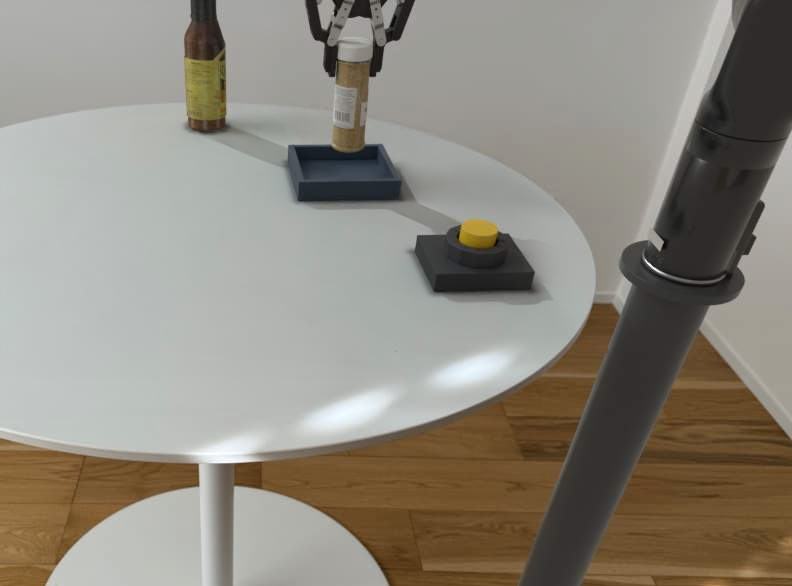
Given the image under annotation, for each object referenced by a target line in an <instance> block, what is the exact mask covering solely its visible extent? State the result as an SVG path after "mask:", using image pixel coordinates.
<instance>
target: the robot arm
mask: <svg viewBox="0 0 792 586" xmlns="http://www.w3.org/2000/svg"><path fill="white" fill-rule="evenodd" d="M331 1H332V3H333V9H332V11H331V14H330V17H329V22H328V25H327V27H326V29H325V28H323V27H322V23H321V17H320V11H319V5H321V4H322V3H323V0H304V6H305V10H306V15H307V21H308V25H309V31H310V35H311V36H312V38H313V40H314V41H315V42H320V43H323V45H324V46H323V59H322V60H323V61H322V67H323V69H324V71H325V73H327V75H328V77H329V78H336V67H337V51H338V47H337V45H336V44H337V41H338V40H339V38H340V35H341V33H342V30H343V29H344V28H345V25H346V23H347V21H348V19H355V18H357V17H360V18H363V19H368V21H369V24H370V28H371V34H372V42H373V56H372V58H371V62H370V71H369V78H376V77H377V73H381V70H382V69H383V63H384V62H383V60H384V54H385V53H384V52H385V47H386V45H387V44H388V43H391V42H398V41H400V40H401V38H402V35H403V33H404V31H405V28H406V25H407V23H408V20H409V18H410V15H411V13H412V10H413V7H414V5H415V2H416V0H394V1H395V2H396V7H395V10H394V11H393V14H392V17H391V20H390V23H389V25H388V27H387V28H385V20H384V16H383V12H382V8H383V7H384V6H385V4H386V3H387V1H388V0H331ZM731 22H732V26H733V30H734V33H733V36H732V39H731V41H730V43H729V46H728V49H727V50H726V53H725V56H724V58H723V61H722V64H721V66H720V68H719V71H718V74H717V76H716V78H715V80H714V82H713V84H712V86H711V87H710V89H708V90H707V91H706V92H705V93H704V94H703V96H702V98H701V100H700V102H699V105H698V108H697V111H696V113H695V116H694V119H693V121H692V124H691V127H690V129H689V132H688V135H687V137H686V140H685V143H684V145H683V148H682V150H681V153H680V156H679V158H678V161H677V164H676V166H675V169H674V172H673V175H672V177H671V179H670V182H669V185H668V188H667V190H666V193H665V195H664V198H663V200H662V203H661V206H660V209H659V211H658V214H657V217H656V219H655V221H654V224H653V227H652V226H650V227H649V230H648V232H647V235H646V238H647V240H648V242H647V244H646V248H645V249H644V250H643V253H642V256H641V262H642V264H643V265H644V267H645V268H646V269H647V270H649V271H650V272H651V273H653V274H654V275H656V276H658V277H660V278H662V279H665V280H667V281H670V282H673V283H677V284H681V285H687V286H696V287H705V286H712V285H716V284H718V283H720V282H722V281H723V280H724V279H731V278H732V276H733V274H734V272H735V270H736V268H737V267H739V264H740V261H741V260H742V257H743V256H749V255H750V253H751V250H752V249H753V246H754V244H755V243H756V241H757V236H756V235H755V234H754V231H755V230H756V227H757V225H758V223H759V221H760V219H761V217H762V214H763V213H764V210H765V208H766V203H765V202H764V201H763V199H761V198H762V196H763V193H764V191H765V189H766V188H767V185H768V183H769V181H770V178H771V176H772V174H773V172H774V170H775V168H776V166H777V163H778V161H779V159H780V156H781V155H782V152H783V150H784V148H785V146H786V144H787V142H788V140H789V137H790V135H791V134H792V0H731Z"/></svg>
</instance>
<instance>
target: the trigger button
mask: <svg viewBox="0 0 792 586" xmlns="http://www.w3.org/2000/svg"><path fill="white" fill-rule="evenodd" d="M461 225H462V226H461V230H460V235H459V242H461V243H462V244H464V245H466V246H469V247H473V248H478V249H485V248H491V247H494V245H495V242H496V238H497V234H498V231H499V227H498V226H497V225H496V224H495V223H493V222H491V221H488V220H484V219H478V218H477V219H476V218H474V219H467V220H464V221H463V222H462V223H461Z"/></svg>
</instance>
